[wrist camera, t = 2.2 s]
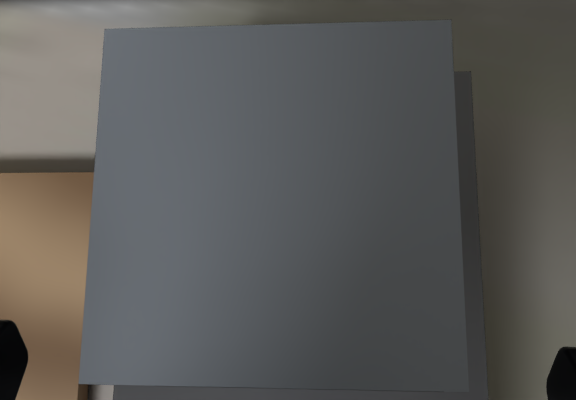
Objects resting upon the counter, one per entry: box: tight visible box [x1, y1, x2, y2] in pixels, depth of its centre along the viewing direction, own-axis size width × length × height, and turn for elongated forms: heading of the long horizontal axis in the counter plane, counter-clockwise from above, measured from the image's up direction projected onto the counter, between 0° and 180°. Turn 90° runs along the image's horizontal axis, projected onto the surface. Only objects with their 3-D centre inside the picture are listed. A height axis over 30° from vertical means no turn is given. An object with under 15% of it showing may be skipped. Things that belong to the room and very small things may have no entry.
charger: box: [79, 20, 469, 392], centre depth 12 cm, size 5×5×9 cm
